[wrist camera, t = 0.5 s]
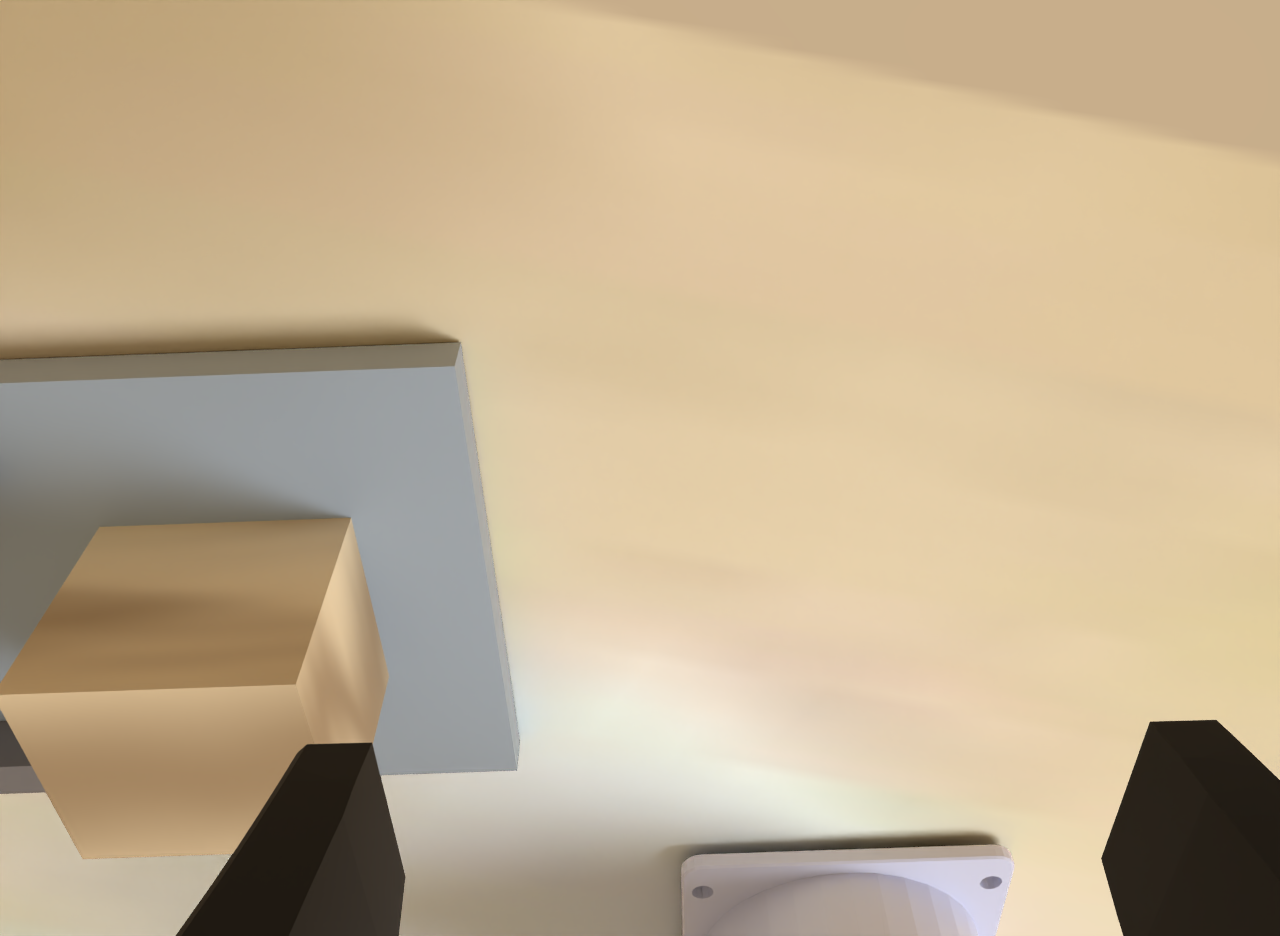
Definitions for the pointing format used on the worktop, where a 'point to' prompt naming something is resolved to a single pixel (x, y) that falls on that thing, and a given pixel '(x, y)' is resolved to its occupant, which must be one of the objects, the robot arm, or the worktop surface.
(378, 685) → the maple block
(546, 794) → the worktop surface
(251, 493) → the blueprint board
